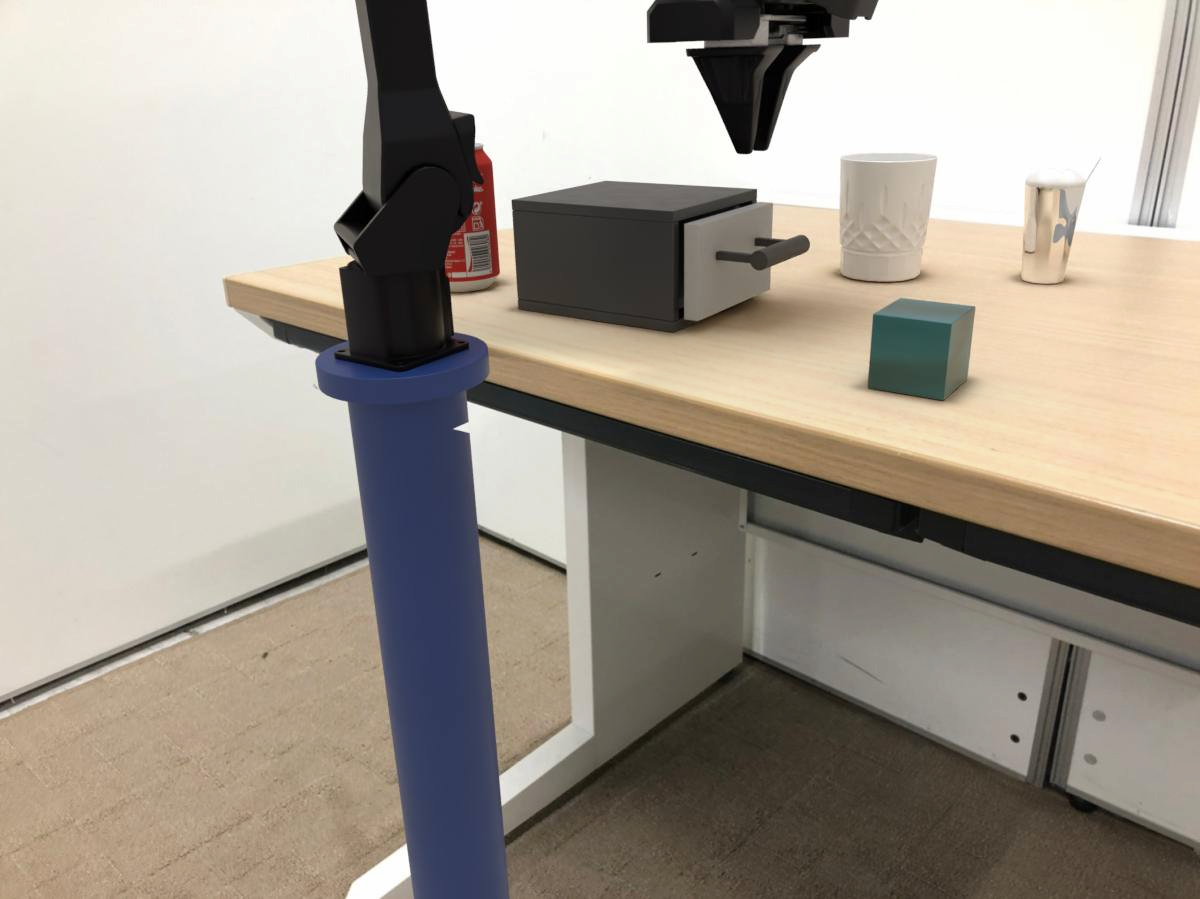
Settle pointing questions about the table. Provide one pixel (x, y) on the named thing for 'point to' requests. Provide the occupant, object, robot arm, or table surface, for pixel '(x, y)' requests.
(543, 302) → the cabinet
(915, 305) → the block
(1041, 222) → the milkshake
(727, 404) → the table surface
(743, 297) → the drawer
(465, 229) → the beverage can
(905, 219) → the white cup
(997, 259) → the table surface
